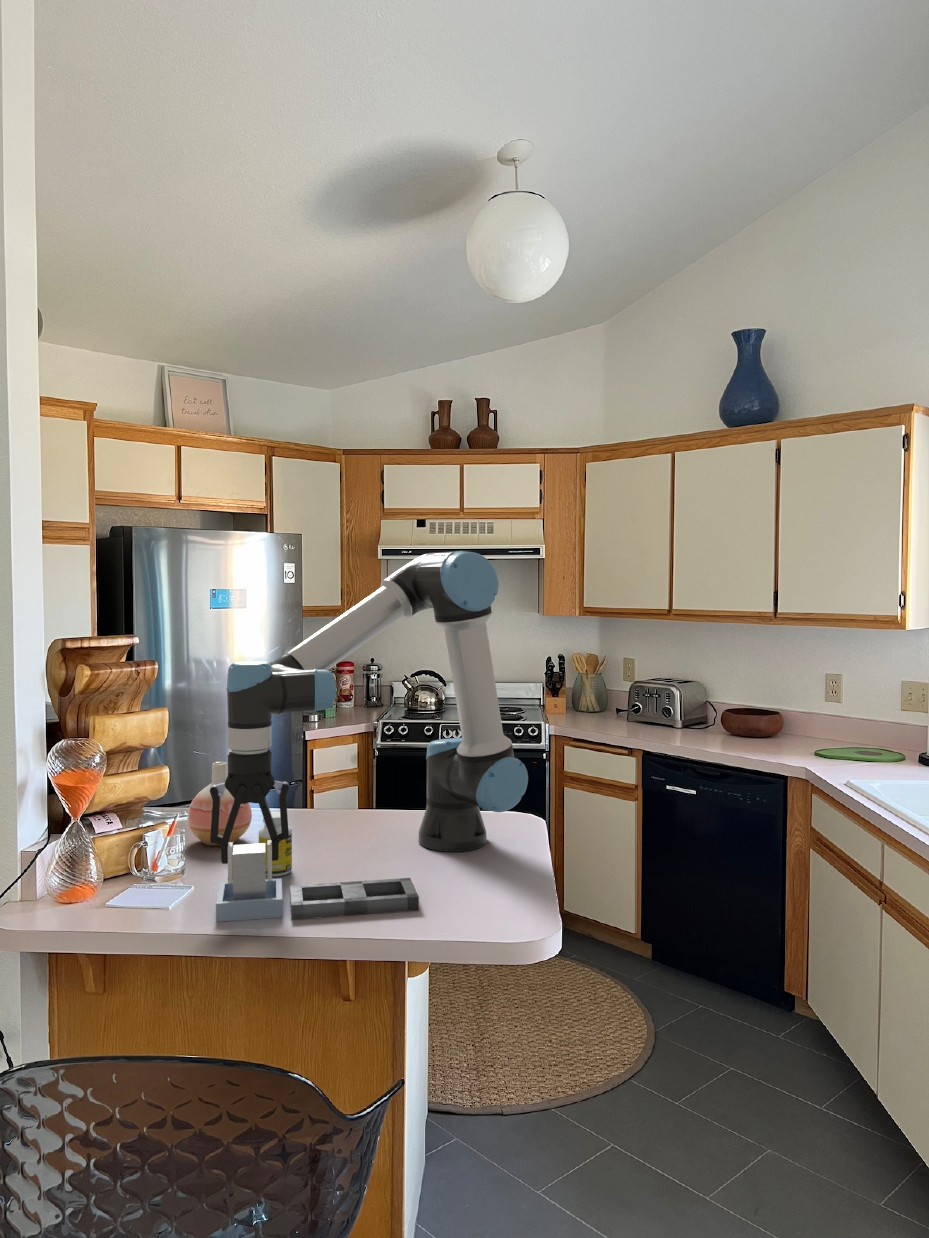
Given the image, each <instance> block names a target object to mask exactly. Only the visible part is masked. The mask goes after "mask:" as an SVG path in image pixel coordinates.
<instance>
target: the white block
mask: <svg viewBox="0 0 929 1238" xmlns="http://www.w3.org/2000/svg"><path fill="white" fill-rule="evenodd" d="M232 860H233V901H236V900H251V899H266V879H267V876H266V853H265V843H259V842H258V843H245V844H244V843H243V844H233V854H232Z"/></svg>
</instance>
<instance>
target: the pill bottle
mask: <svg viewBox="0 0 929 1238" xmlns="http://www.w3.org/2000/svg"><path fill="white" fill-rule="evenodd" d="M270 812H271V815H272V818H273V821H274V824H275V827H276V830H277V833H278V832H280V831H282V830H281V816H280V811H270ZM262 823H264V825H263V826H262V827H260V828H259V830H258V843H265V853H266V877H268V862H267V841H268V840H271V838H270V835H269V832H268V829H267V826H266V823H265V820H264V817H263V816H262ZM288 830H289V837H288V838H287V839H284V840H281V841H280V842H279V858H278V860H277V861H272V878H273V877H274V878H277V877H283V876H286V875H289V874H290V873H291V872H292V869H293V863H292V862H293V850H292V849H293V832H292V831H293V830H292V828H291V827H290V826H289V825H288Z"/></svg>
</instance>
